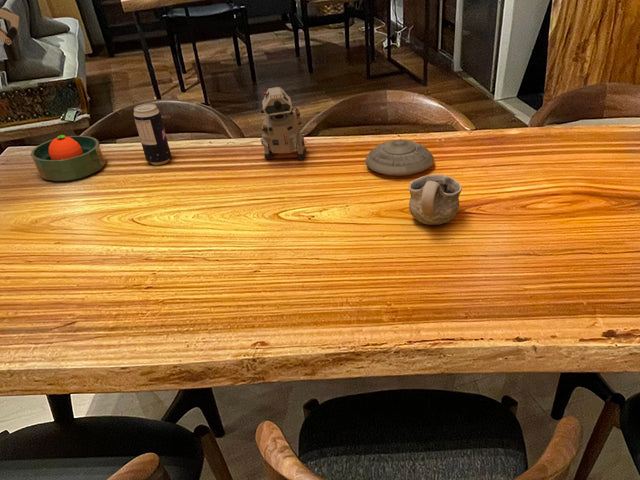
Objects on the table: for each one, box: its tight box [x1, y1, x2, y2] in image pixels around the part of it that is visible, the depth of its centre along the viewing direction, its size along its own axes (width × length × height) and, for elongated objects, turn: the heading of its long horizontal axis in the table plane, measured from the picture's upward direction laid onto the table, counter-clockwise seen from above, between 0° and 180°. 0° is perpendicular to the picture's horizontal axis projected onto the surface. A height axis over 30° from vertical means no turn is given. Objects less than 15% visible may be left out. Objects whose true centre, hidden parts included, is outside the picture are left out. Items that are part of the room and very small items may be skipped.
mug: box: [408, 174, 463, 226], centre depth 113 cm, size 10×12×10 cm
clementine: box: [49, 134, 83, 160], centre depth 138 cm, size 8×7×7 cm
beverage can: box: [133, 103, 172, 166], centre depth 139 cm, size 6×6×12 cm
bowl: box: [30, 135, 106, 182], centre depth 139 cm, size 14×14×5 cm
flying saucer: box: [364, 139, 435, 176], centre depth 135 cm, size 15×15×6 cm
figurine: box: [259, 86, 307, 161], centre depth 136 cm, size 9×12×15 cm
